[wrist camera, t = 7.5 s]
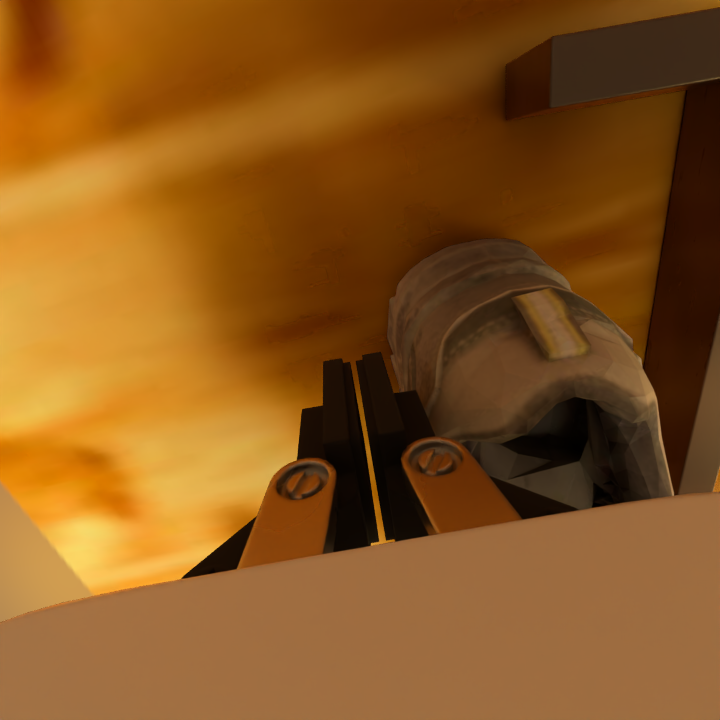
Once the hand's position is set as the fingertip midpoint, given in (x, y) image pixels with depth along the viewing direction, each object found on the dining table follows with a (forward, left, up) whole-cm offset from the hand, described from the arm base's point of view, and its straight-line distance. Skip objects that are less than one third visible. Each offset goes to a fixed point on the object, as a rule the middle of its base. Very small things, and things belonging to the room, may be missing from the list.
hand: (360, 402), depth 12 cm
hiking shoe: (+7, +5, -5) cm, 10 cm away
